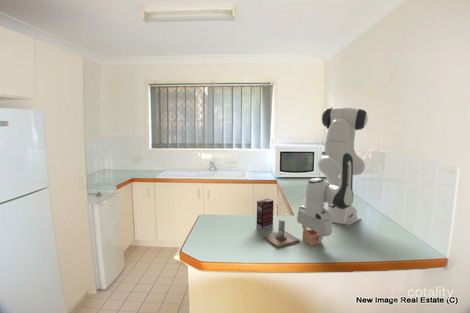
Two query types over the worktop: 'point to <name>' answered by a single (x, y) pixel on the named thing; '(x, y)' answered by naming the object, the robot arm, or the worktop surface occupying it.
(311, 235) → the ring
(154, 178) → the worktop surface
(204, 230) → the worktop surface
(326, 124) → the robot arm
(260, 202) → the supplement box
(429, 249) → the worktop surface
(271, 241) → the post board
